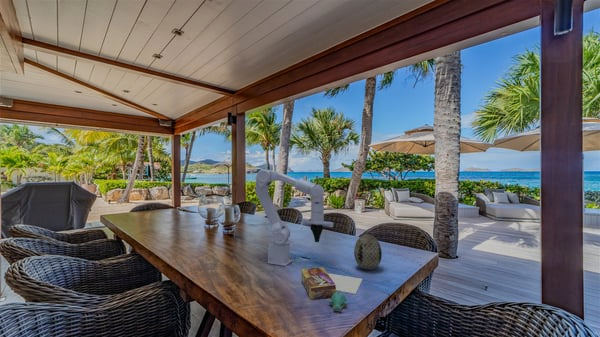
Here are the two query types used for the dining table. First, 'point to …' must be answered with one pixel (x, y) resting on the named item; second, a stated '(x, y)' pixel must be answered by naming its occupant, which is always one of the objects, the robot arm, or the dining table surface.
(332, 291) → the candy box
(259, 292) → the dining table surface
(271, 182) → the robot arm
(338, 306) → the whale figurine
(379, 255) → the decorative egg
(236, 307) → the dining table surface
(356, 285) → the mat
